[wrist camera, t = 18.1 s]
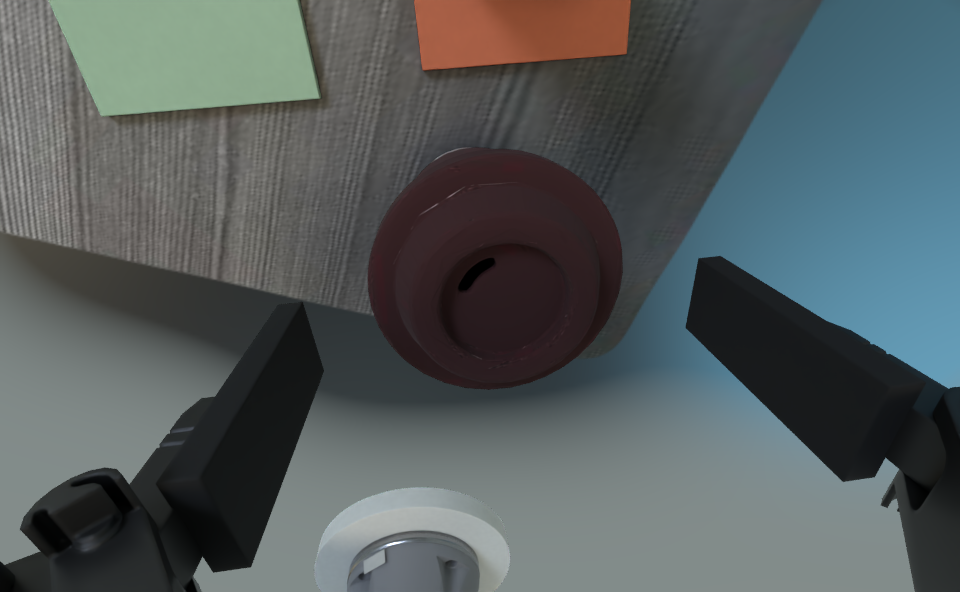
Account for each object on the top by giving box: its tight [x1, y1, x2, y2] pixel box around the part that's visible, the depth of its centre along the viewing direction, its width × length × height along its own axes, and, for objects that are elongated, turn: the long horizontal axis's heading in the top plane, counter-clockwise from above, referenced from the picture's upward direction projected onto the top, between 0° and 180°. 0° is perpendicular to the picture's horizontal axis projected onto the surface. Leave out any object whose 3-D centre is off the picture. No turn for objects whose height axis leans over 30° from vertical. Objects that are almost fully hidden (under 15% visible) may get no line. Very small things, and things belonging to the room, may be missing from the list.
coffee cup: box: [368, 147, 623, 390], centre depth 21 cm, size 10×10×15 cm
